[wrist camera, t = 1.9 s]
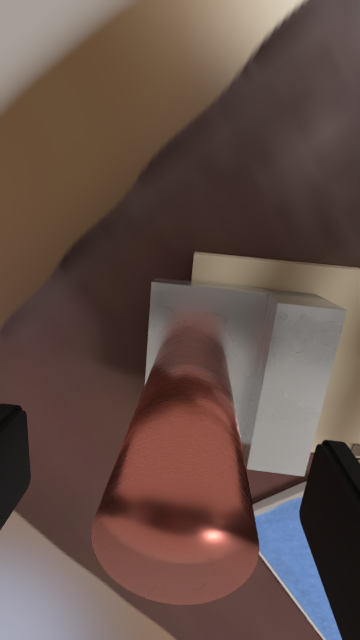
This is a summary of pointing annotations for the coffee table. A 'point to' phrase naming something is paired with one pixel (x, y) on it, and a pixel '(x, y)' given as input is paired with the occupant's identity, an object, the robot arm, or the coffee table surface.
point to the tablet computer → (293, 557)
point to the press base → (330, 283)
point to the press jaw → (212, 433)
